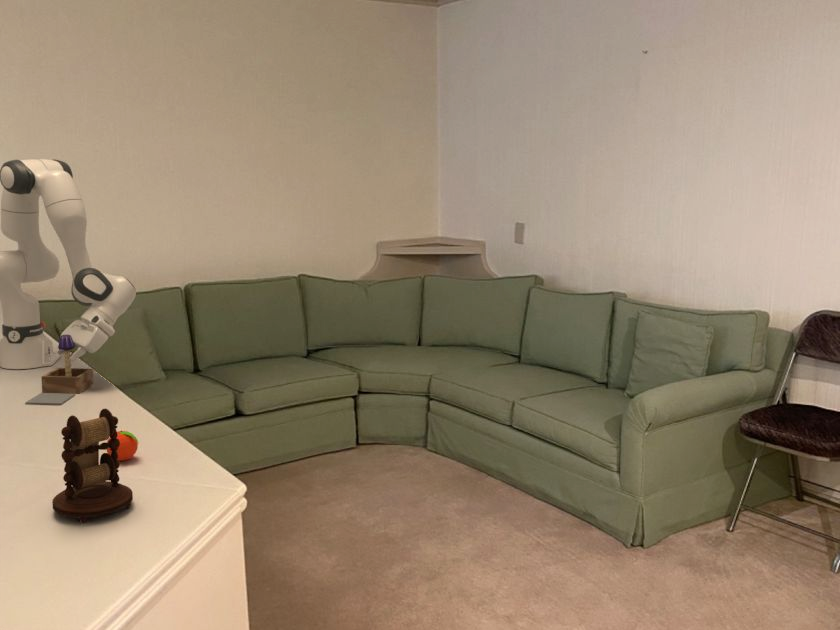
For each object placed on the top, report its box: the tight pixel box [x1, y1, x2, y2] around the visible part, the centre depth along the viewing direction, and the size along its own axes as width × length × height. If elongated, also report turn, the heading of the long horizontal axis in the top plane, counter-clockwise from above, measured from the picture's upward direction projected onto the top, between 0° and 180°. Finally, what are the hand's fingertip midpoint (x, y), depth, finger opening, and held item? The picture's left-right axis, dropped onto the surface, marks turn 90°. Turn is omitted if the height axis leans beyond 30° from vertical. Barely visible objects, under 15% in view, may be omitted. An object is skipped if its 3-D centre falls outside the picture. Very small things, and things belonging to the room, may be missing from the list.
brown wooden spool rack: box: [52, 408, 134, 524], centre depth 155 cm, size 15×15×20 cm
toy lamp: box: [57, 334, 76, 377], centre depth 239 cm, size 5×5×17 cm
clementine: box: [105, 430, 139, 462], centre depth 182 cm, size 8×7×7 cm
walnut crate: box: [40, 367, 94, 395], centre depth 240 cm, size 11×11×5 cm
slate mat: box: [24, 392, 76, 406], centre depth 228 cm, size 10×10×1 cm
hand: (65, 357), depth 238 cm, fingers open, 8 cm apart
